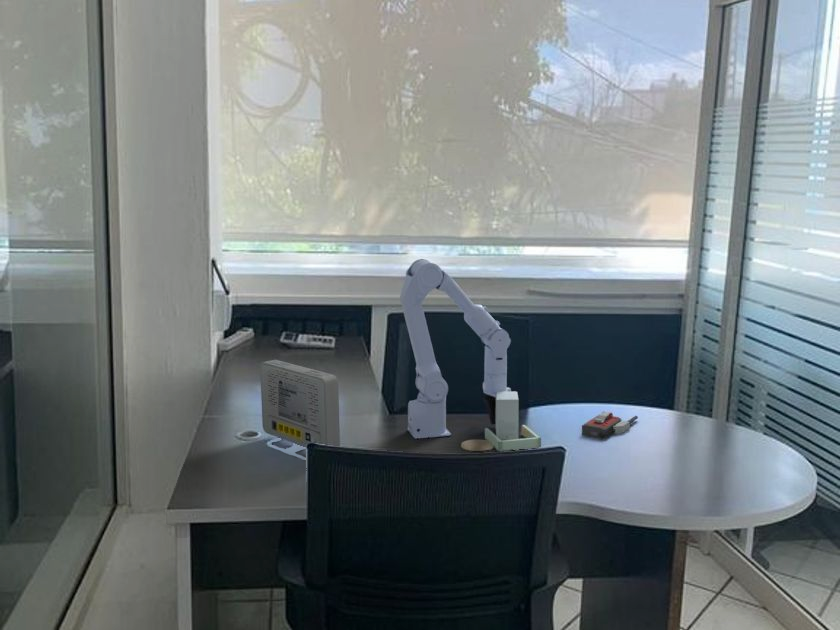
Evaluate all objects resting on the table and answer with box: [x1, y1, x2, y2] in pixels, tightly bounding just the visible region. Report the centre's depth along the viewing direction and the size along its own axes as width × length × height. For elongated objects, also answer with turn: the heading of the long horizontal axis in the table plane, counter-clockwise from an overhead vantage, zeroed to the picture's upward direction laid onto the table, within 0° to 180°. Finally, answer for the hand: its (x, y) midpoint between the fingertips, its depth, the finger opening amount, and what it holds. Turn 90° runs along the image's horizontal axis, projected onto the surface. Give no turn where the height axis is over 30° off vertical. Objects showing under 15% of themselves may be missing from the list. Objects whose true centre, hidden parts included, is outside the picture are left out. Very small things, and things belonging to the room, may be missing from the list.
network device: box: [259, 359, 341, 447], centre depth 208 cm, size 26×9×20 cm, turn 45°
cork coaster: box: [460, 439, 495, 452], centre depth 210 cm, size 8×8×1 cm
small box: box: [495, 390, 520, 441], centre depth 217 cm, size 8×6×10 cm
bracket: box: [484, 424, 542, 452], centre depth 212 cm, size 11×11×2 cm
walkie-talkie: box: [581, 411, 639, 440], centre depth 223 cm, size 9×4×20 cm
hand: (495, 423), depth 225 cm, fingers closed
